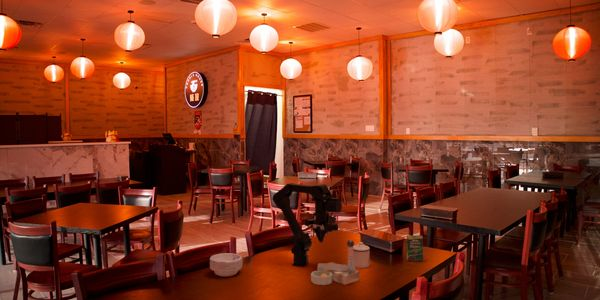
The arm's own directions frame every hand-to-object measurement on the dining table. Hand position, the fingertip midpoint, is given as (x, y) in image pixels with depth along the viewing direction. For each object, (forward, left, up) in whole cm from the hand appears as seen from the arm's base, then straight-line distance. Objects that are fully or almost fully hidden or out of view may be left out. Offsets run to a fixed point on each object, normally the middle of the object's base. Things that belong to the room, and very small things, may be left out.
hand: (321, 242), depth 214 cm
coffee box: (+41, +29, -13) cm, 52 cm away
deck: (+11, -9, -13) cm, 19 cm away
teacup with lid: (+16, +13, -13) cm, 24 cm away
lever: (+12, -14, -9) cm, 20 cm away
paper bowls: (-40, -22, -13) cm, 48 cm away
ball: (+7, -18, -11) cm, 22 cm away
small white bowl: (+6, -17, -13) cm, 22 cm away
